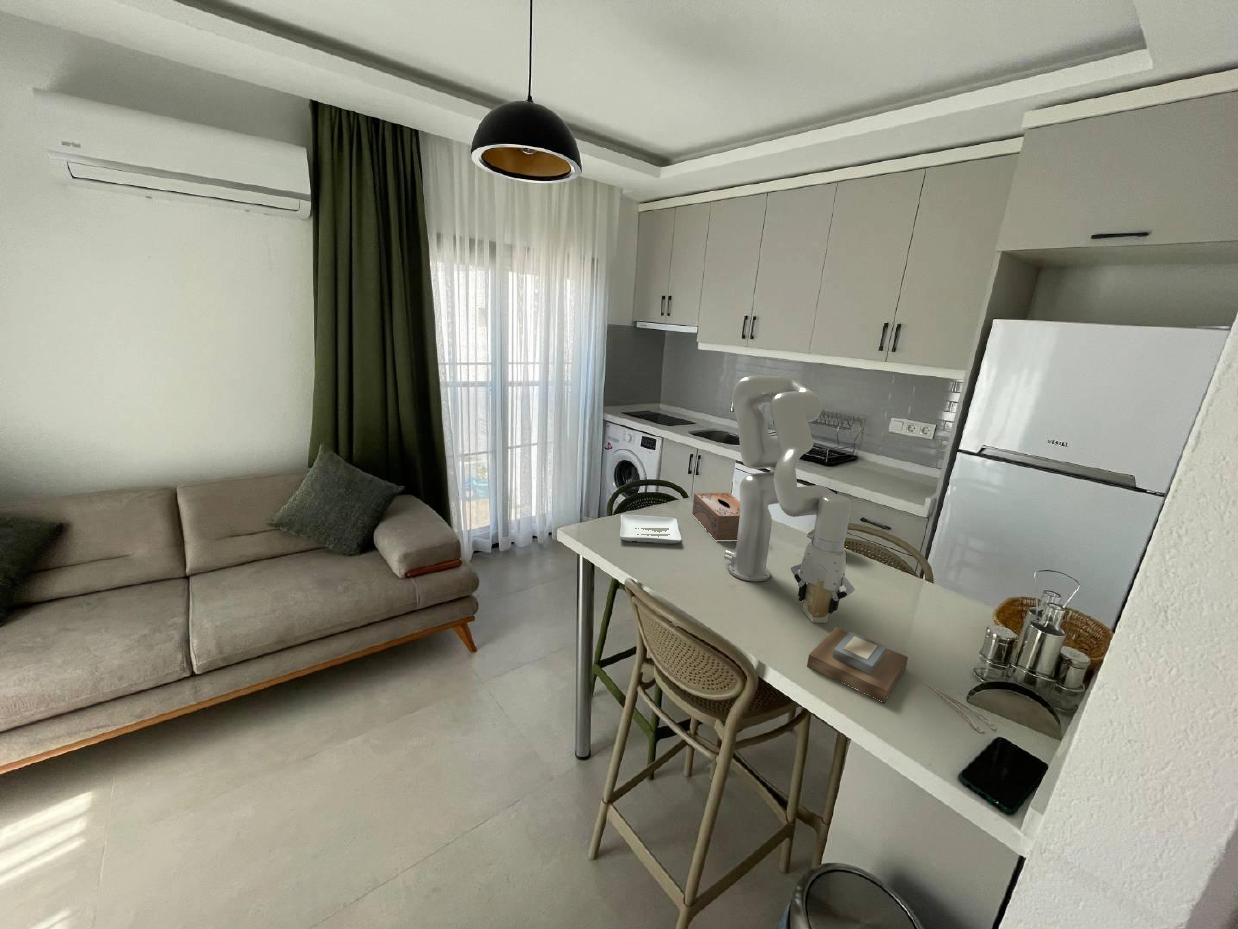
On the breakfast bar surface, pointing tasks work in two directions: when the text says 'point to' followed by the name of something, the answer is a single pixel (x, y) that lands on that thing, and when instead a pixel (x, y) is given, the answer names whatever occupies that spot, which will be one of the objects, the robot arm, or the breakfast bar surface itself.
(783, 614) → the breakfast bar surface
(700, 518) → the tissue box cover
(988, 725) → the tweezers
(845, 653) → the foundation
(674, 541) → the salad plate
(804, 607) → the skincare box
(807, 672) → the breakfast bar surface
